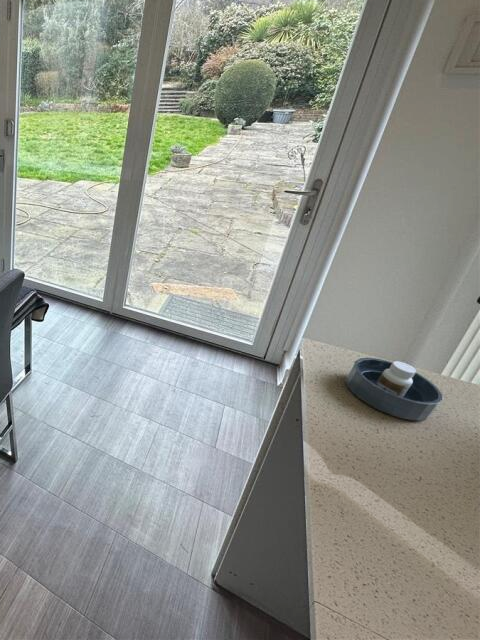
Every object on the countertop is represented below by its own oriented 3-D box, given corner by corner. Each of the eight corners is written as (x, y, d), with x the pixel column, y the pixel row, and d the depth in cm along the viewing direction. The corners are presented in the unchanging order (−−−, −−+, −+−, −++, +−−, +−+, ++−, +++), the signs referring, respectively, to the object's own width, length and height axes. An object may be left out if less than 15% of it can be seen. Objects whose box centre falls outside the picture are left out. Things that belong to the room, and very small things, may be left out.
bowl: (397, 380, 91) (409, 362, 88) (447, 427, 79) (462, 409, 77) (331, 371, 93) (340, 353, 91) (370, 416, 81) (382, 397, 79)
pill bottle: (367, 390, 87) (385, 362, 83) (379, 385, 88) (396, 357, 85) (393, 405, 83) (412, 376, 80) (404, 399, 85) (424, 370, 81)
